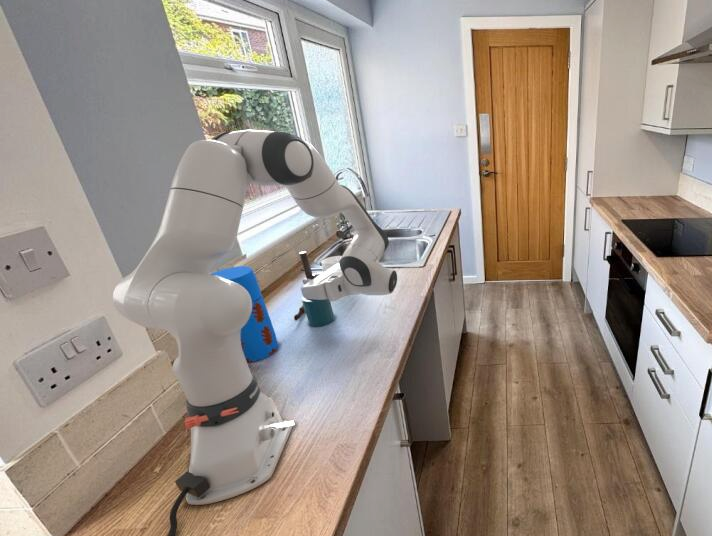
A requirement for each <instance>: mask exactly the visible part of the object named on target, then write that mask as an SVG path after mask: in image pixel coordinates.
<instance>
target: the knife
mask: <svg viewBox="0 0 712 536" xmlns="http://www.w3.org/2000/svg"><path fill="white" fill-rule="evenodd" d="M305 313H306V312H305V309H304V305H303V304H302V305H301V307H299V310H298V312H297V313H296V314H295V315H294V316H293V319H294V321H296V322H297V321H298V320H299V319H300V318H301V317H302V316H303V314H305Z"/></svg>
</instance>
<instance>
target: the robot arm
mask: <svg viewBox="0 0 712 536" xmlns="http://www.w3.org/2000/svg"><path fill="white" fill-rule="evenodd" d="M250 185H257V186H263V187H271V186H273V187H274V186H285V188H286V189H287V191H288V192H289V194H290V196H291V197H292V199H293V201H294V202H295V203H296V205H297V206H298V207H299V208H300V209H301V210H302V212H304V213H305V214H306V215H308V216H309V217H312V218H317V219H327V218H332V217H336V216H338V215H340V214H342V215H343V216H344V217H345V219H346V220H347V221H348V223H349V224H350V225H351V226H352V228H353V237H352V239H351V241H350V242H349V244H348V245H347V247H346V249H345V250H344V252H343V254H342V255H341V256H342V257H341V259H340V261H339V263H338V264H335V265H334V266H332V267H331V268H329V269H328V270H326V271H325V272H323V271H322V272H317V273H312V274H313V278H314V279H312V280H310V278H306V277H305V278H303V279H302V284H303V285H301V287H300V291H301V294H302V298H303V297H304V298H306V299H314V300H325V299H329V301H330V302H336V301H338V300H340V299H342V298H345V297H349V296H354V295H355V296H357V295H365V296H372V297H373V296H374V297H375V296H376V297H377V296H387V295H390V294H392V293H393V292H394V291H395V289H396V287H397V283H398V274H397V273H398V272H397V271H396V270H395V269H392V268H389V267H386V266H384V265H383V264H381V262H380V260H381V258H382V256H383V254H385V252H386V250H387V249H388V247H389V245H390V241H389V237H388V235H387V233H386V232H385V231H384V229H382V228H381V227H380V226H379V225H378V224H377V223H376V222H375V220H374V219H373V218H372V216H371V214H370V213H369V212H368V210H367V209H366V207H364V205H363V204H362V202H361V201H360V199H359V198H358V197H357V196H356V194H355V193H354V192H353V191H352V190H351V189H350V188H349V187H347V186H346V185H343V184H340V183H339V181H338V179H337V178H336V176H335V174H334V173H333V171H332V170H331V168H330V166H329V164H327V162H326V161H325V159H324V158H323V156H322V155H321V154H320V153H319V151H317V149H316V148H315V147H314V146H313V145H312V144H311V143H310V142H308V141H305V140H304V139H303V138H302V137H300V136H299V135H296V134H294V133H291V132H288V131H283V130H276V131H271V130H259V129H243V130H237V131H232V130H230V131H229V130H228V131H223V132H220V133H219V134H216V135H214V136H213V137H212V138H211V139H199V140H196V141H194V142H191V144H190V145H189V146H188V147H187V148H186V150H185V151H184V154H183V155H182V157H181V158H180V161H179V164H178V166H177V168H176V170H175V173H174V176H173V178H172V182H171V185H170V188H169V193H168V197H167V200H166V204H165V207H164V212H163V215H162V219H161V222H160V225H159V228H158V230H157V234H156V236H155V238H154V239H153V241H152V243H151V245H150V246H149V248H148V250H147V251H146V253H145V255H144V256H143V257H142V259H141V260H140V262H139V263H138V265H137V266H136V267H135V269H133V271H132V272H130V273H129V274H128V275H125V276H124V277H123V278H122V279H121V280H120V281H119V282H118V283H117V284H116V286H115V288H114V290H113V293H112V303H113V306H114V308H115V310H116V311H117V312H118V313H119V314H120V315H121V316H122V317H124V318H126V319H127V320H129V321H131V323H132V322H133V323H134V324H136V325H138V326H141V327H143V328H148V329H152V330H153V329H154V330H158V331H165V332H167V333H169V335H171V336H172V337H173V338H174V340H175V341H176V345H177V350H178V351H177V352H178V356H177V357H176V358H175V359H174V361H173V363H172V373H173V374H174V377H175V379H176V380H177V382H178V385H179V386H180V389H181V390H182V393H183V394H184V397H185V405H186V412H187V415H188V416H187V417H186V418H185V420H184V425H185V427H186V429H188V430H189V429H190V459H189V468H188V471H186V472H184V473H183V474H181V475H180V476H179V477H178V478H177V479H176V480H174V483H175V485H176V486H177V488H178V490H179V491H181V492H180V493H179V495H178V496H177V498H176V499H175V501H174V503H173V505H172V507H171V510H170V513H169V524H170V525H169V526H170V528H169V531H168V534H167V536H175V535H176V532H177V529H178V517H177V514H178V510H179V507H180V506H181V503H182V502H183V500H184V498H185V500H186V503H187V504H188V505H193V506H202V505H209V504H214V503H219V502H221V501H224V500H228V499H231V498H235V497H237V496H240V495H242V494H245V493H248V492H249V491H252V490H254V489H256V488H258V487H259V486H261V485H263V484H264V483H266V482H267V481H268V480H270V479H271V478H272V476H273V474H274V472H275V469H276V467H277V465H278V462H279V461H280V459H281V458H280V457H281V455H282V452H283V451H284V448H285V446H286V443H287V441H288V438H289V436H290V434H291V432H292V429H293V426H295V422H294V420H285V419H283V418H282V416H281V414H280V411H279V410H278V408H277V406H276V403H275V402H274V400H273V398H272V397H270V396H268V395H266V394H264V393H263V392H261V387H260V384H259V381H258V379H257V378H256V376H255V374H254V373H253V372H252V371H251V369H250V367H249V364H248V362H247V361H246V358H245V356H244V353H243V350H242V346H241V328H242V327H243V326H244V325H245V324H246V323H247V321H248V320H249V318H250V315H251V312H252V300H251V297H250V294H249V293H248V291H247V290H246V289H245V288H244V287H243V286H241V285H239V284H237V283H235V282H233V281H230V280H228V279H225V278H223V277H220V276H216V275H211V271H212V270H213V268H214V266H215V265H216V264H217V262H218V261H219V260H220V259H221V258H222V257H224V256H225V255H226V254H227V253H229V252H230V251H231V250H232V249H233V248H234V246H235V244H236V243H237V242H236V241H237V237H238V232H239V229H240V223H241V219H242V214H243V211H244V205H245V201H246V194H247V189H248V187H249V186H250Z"/></svg>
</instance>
